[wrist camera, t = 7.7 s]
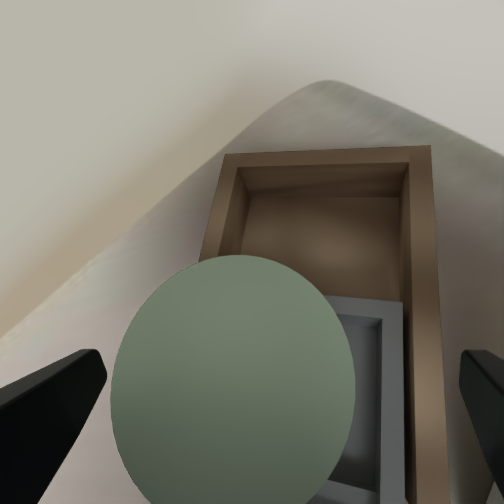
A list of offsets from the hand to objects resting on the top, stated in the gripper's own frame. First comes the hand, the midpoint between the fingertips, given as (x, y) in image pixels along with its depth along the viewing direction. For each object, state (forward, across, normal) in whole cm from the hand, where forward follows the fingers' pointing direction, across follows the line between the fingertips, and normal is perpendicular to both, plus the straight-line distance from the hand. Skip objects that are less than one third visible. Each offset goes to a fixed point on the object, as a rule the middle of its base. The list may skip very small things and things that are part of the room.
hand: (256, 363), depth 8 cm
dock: (+9, 0, +5) cm, 10 cm away
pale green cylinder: (+6, 0, +6) cm, 9 cm away
